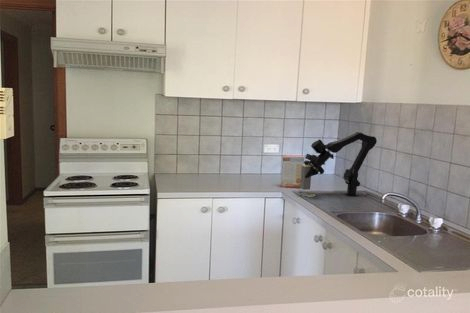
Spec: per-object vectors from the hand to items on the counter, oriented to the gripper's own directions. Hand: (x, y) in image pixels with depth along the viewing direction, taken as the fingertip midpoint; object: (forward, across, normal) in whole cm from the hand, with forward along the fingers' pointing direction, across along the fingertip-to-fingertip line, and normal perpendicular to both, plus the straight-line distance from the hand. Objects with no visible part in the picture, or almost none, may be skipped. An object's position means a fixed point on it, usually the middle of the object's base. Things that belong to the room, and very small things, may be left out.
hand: (303, 176), depth 255 cm
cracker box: (+7, -25, +10) cm, 28 cm away
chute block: (+4, 0, +6) cm, 8 cm away
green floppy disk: (+6, 0, +10) cm, 12 cm away
